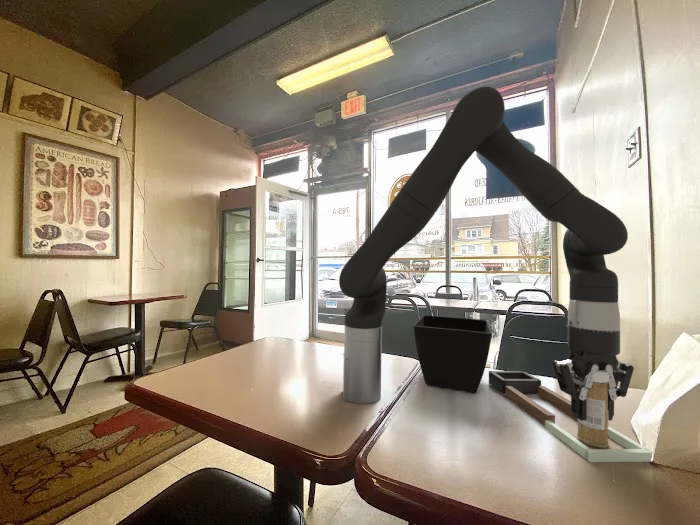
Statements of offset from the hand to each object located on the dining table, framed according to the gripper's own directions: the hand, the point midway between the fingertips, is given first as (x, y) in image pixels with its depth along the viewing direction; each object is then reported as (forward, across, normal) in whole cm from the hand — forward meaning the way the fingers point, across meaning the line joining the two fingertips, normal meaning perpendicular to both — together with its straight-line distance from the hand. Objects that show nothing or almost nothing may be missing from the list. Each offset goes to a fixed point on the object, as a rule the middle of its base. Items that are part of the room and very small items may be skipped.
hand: (592, 417), depth 55 cm
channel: (+4, 0, +12) cm, 13 cm away
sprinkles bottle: (+4, 0, 0) cm, 4 cm away
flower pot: (+5, -15, +29) cm, 33 cm away
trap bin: (+4, 0, +24) cm, 25 cm away
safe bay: (+4, 0, 0) cm, 4 cm away
